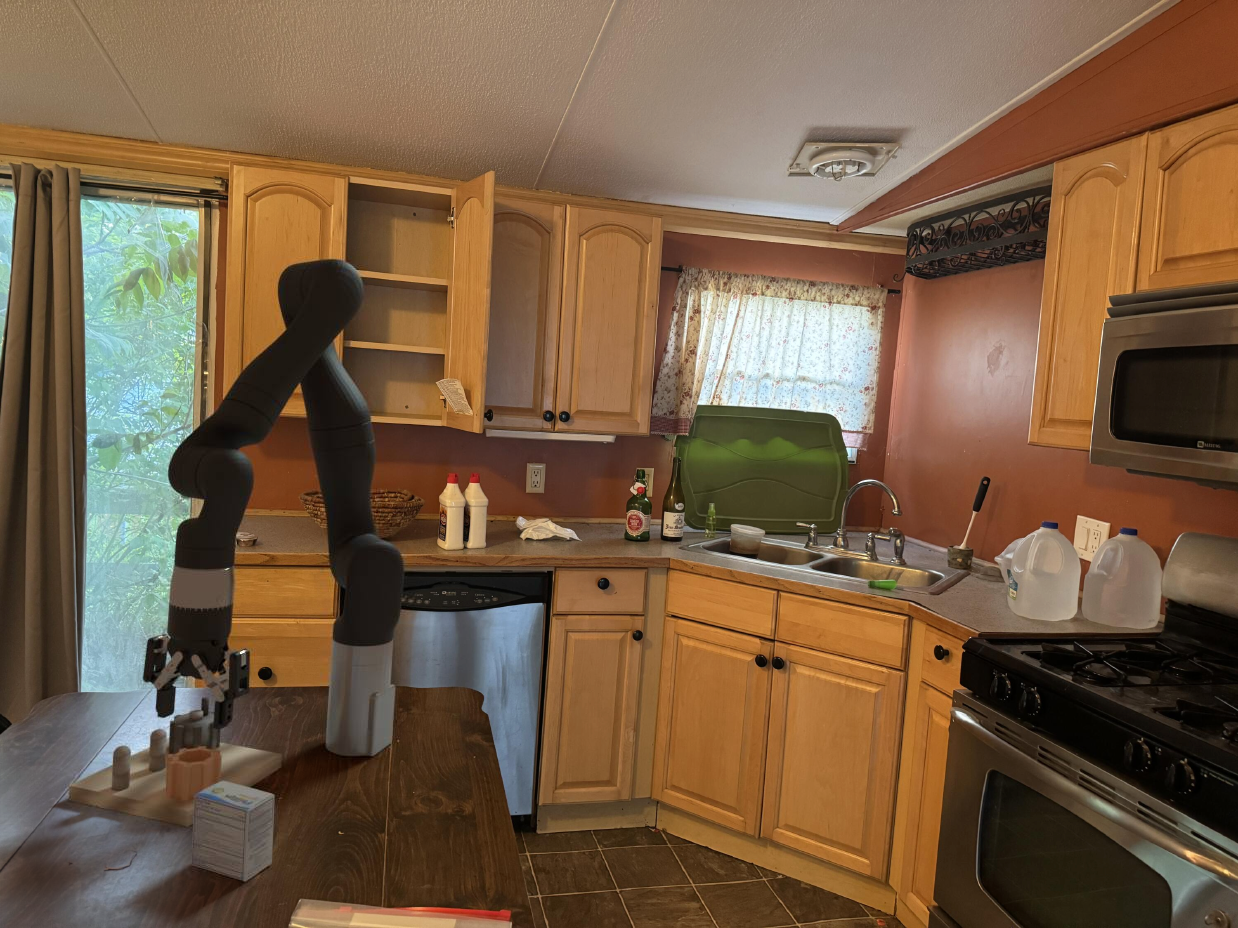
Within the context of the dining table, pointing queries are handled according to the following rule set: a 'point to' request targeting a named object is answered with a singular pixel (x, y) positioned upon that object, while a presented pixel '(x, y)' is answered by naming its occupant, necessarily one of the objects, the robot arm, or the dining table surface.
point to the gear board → (143, 774)
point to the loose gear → (192, 771)
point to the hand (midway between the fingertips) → (193, 721)
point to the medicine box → (233, 830)
